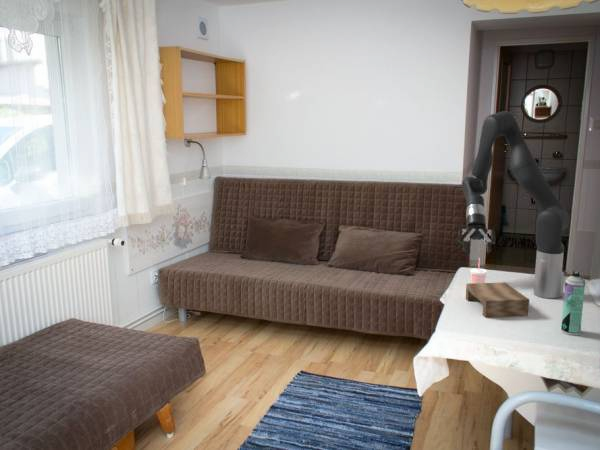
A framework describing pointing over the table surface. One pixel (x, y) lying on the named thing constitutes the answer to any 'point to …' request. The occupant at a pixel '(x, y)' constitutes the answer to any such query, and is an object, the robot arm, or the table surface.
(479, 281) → the beverage cup
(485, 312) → the walnut shelf stand
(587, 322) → the table surface
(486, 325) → the table surface
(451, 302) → the table surface
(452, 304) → the table surface
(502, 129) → the robot arm
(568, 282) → the spray can
